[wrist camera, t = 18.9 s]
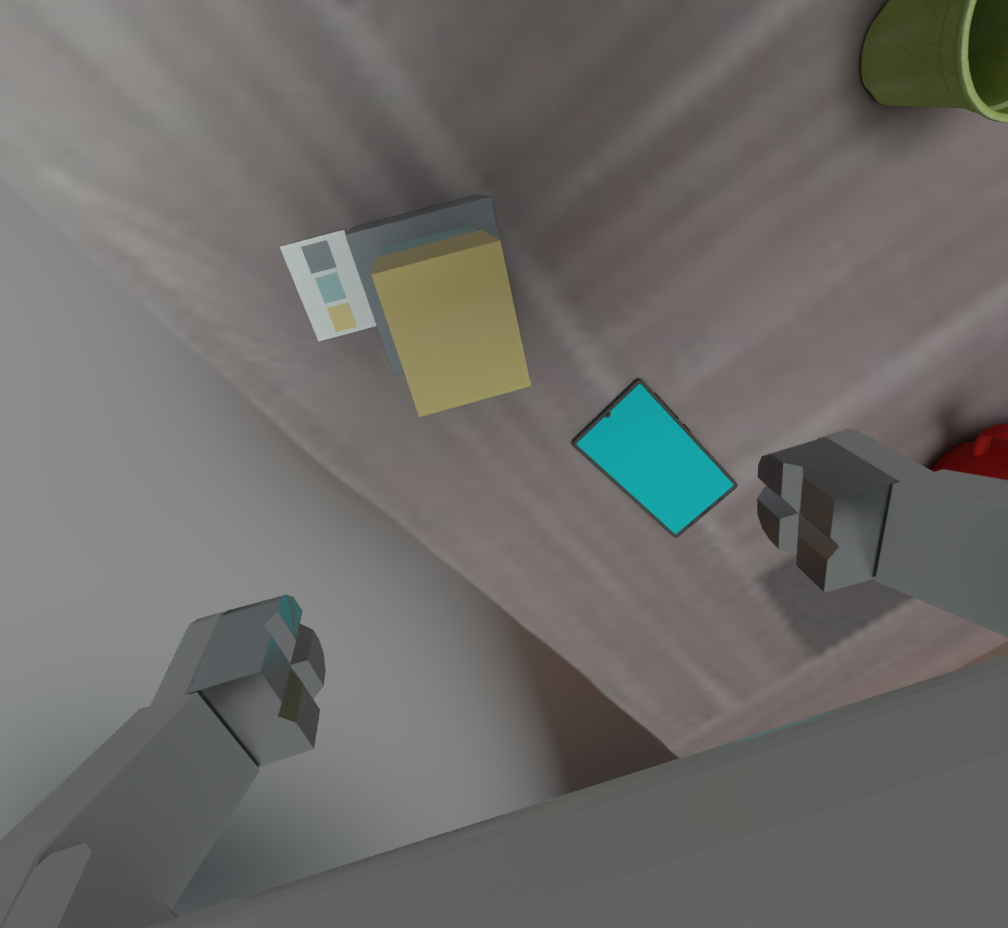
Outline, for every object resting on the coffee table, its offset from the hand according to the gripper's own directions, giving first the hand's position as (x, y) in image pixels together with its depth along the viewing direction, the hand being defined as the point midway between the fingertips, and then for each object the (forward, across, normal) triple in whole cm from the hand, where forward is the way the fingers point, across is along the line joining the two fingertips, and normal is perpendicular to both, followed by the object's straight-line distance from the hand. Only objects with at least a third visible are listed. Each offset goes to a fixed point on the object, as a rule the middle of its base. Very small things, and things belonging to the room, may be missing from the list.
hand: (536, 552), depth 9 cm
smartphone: (+30, -14, +19) cm, 38 cm away
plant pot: (+29, -32, -6) cm, 44 cm away
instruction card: (+29, +6, -1) cm, 30 cm away
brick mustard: (+19, 0, 0) cm, 19 cm away
